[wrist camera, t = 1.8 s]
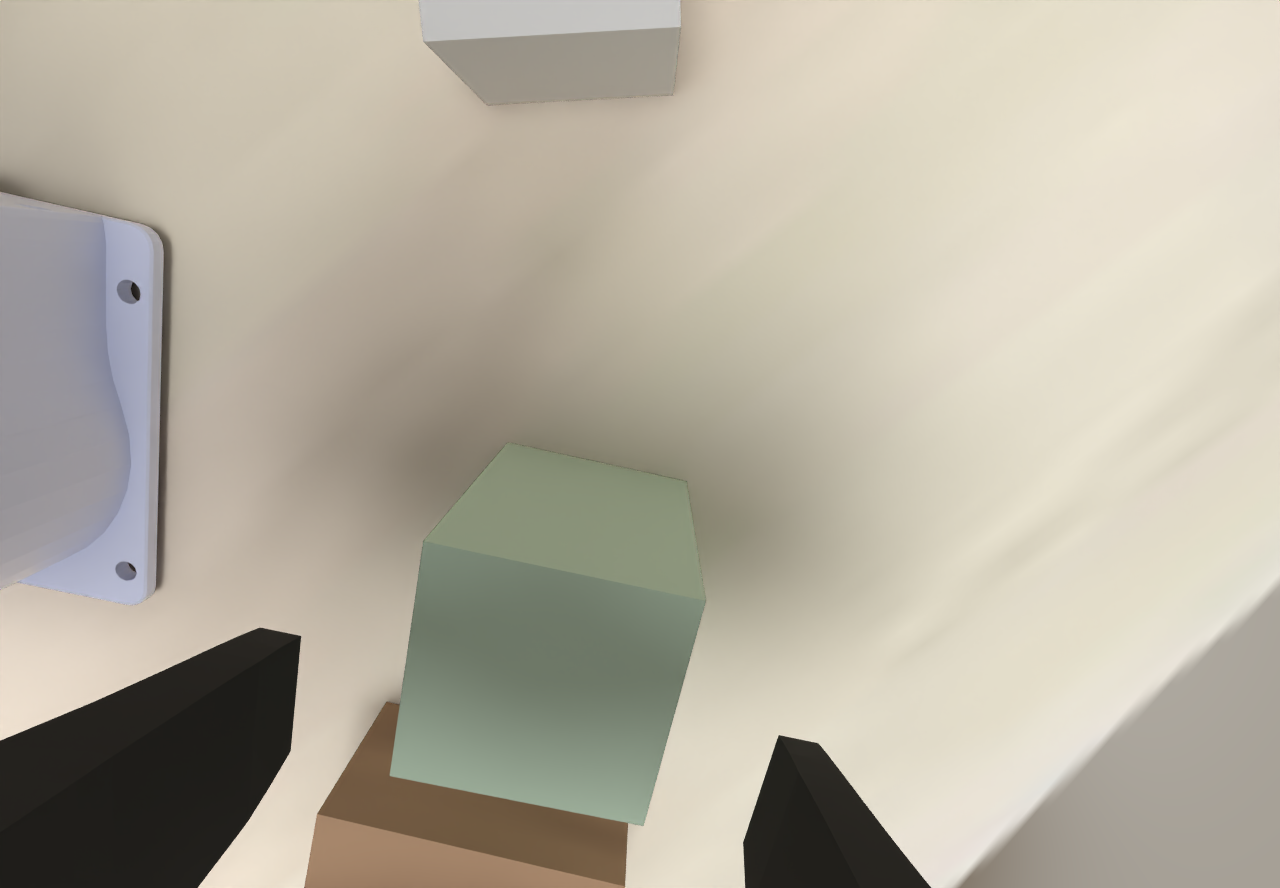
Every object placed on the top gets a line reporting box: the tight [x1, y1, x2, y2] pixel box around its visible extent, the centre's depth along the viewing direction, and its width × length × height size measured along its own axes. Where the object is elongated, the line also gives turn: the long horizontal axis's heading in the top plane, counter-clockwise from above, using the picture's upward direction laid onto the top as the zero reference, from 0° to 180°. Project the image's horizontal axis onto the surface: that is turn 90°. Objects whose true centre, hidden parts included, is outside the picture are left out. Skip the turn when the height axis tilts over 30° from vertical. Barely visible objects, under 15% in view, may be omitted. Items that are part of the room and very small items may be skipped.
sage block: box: [390, 442, 706, 826], centre depth 13 cm, size 4×4×6 cm
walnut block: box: [304, 702, 628, 888], centre depth 17 cm, size 7×7×4 cm
